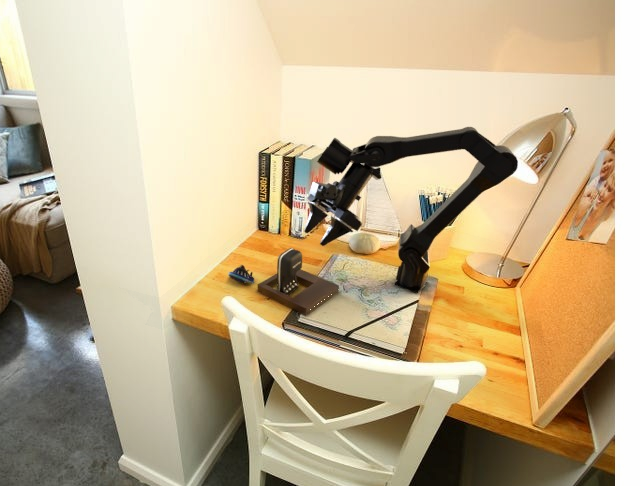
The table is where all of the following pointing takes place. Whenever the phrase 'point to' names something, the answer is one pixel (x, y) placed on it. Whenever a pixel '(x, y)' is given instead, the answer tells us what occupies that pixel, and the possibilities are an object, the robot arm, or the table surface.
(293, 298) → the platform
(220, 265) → the table surface
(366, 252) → the sea urchin shell
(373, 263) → the table surface
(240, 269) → the spaceship
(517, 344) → the table surface
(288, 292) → the battery charger
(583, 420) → the table surface
